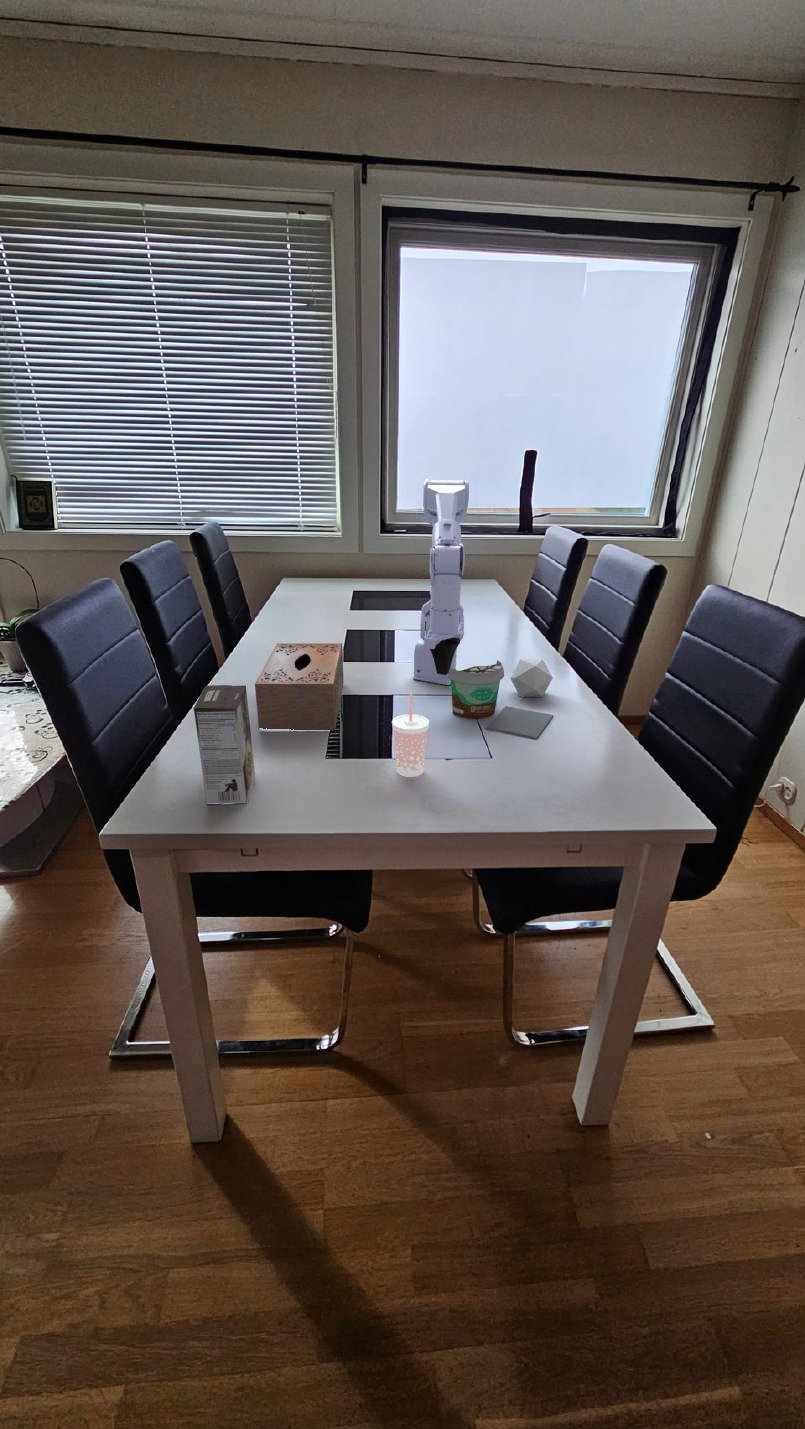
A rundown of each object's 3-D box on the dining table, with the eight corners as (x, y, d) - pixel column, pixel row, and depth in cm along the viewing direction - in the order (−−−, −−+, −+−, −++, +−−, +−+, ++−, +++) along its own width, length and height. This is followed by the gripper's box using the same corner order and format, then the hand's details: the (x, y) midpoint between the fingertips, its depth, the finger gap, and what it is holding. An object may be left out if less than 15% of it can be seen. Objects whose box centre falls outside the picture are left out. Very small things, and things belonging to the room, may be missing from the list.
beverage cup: (430, 778, 101) (432, 699, 96) (393, 779, 101) (393, 700, 95) (426, 761, 107) (427, 685, 101) (390, 762, 106) (390, 686, 101)
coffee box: (216, 776, 101) (204, 684, 95) (256, 775, 102) (247, 683, 96) (204, 806, 93) (191, 707, 87) (248, 804, 94) (238, 706, 87)
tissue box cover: (280, 685, 141) (277, 643, 137) (343, 685, 142) (342, 643, 138) (259, 733, 118) (254, 684, 114) (335, 732, 118) (333, 683, 114)
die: (540, 707, 131) (564, 669, 131) (506, 686, 131) (530, 647, 131) (531, 706, 140) (554, 670, 139) (499, 686, 139) (522, 650, 139)
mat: (486, 728, 120) (486, 726, 120) (505, 707, 129) (506, 705, 129) (536, 739, 116) (536, 737, 115) (553, 716, 125) (553, 714, 125)
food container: (462, 725, 121) (465, 677, 117) (446, 714, 126) (448, 668, 122) (513, 714, 126) (517, 668, 122) (496, 704, 131) (499, 659, 127)
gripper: (449, 618, 114) (446, 687, 119) (477, 603, 126) (473, 666, 131) (414, 614, 117) (413, 681, 122) (445, 599, 128) (443, 661, 134)
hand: (442, 673), depth 127 cm, fingers closed
